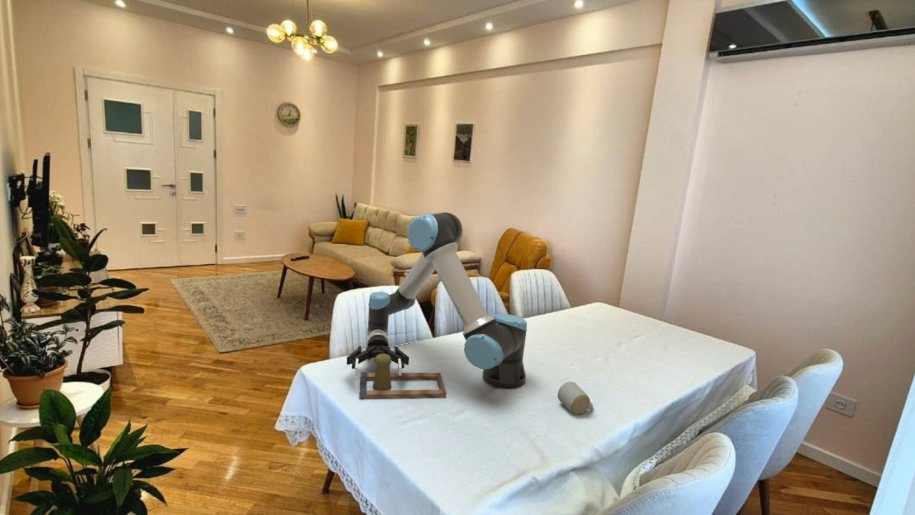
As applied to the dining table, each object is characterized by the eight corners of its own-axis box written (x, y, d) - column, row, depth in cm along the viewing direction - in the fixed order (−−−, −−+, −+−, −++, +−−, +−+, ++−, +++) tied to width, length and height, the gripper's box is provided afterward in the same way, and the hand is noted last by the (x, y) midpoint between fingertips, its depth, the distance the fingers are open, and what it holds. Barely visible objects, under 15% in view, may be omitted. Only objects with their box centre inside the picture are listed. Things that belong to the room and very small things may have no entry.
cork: (376, 392, 144) (377, 360, 141) (370, 384, 149) (371, 353, 146) (394, 389, 146) (395, 357, 144) (387, 380, 152) (388, 350, 149)
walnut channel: (439, 376, 158) (440, 372, 157) (446, 397, 144) (446, 393, 144) (366, 377, 153) (366, 373, 153) (365, 399, 140) (366, 394, 139)
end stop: (366, 377, 153) (366, 371, 153) (365, 399, 140) (366, 393, 139) (360, 377, 153) (360, 371, 152) (359, 399, 139) (359, 393, 139)
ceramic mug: (570, 417, 139) (574, 394, 137) (555, 403, 146) (559, 382, 145) (598, 413, 143) (602, 391, 142) (582, 399, 151) (585, 378, 149)
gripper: (412, 353, 166) (417, 382, 145) (341, 353, 161) (337, 383, 141) (413, 334, 164) (418, 360, 144) (342, 333, 159) (337, 360, 139)
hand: (378, 371), depth 142 cm, fingers open, 13 cm apart
